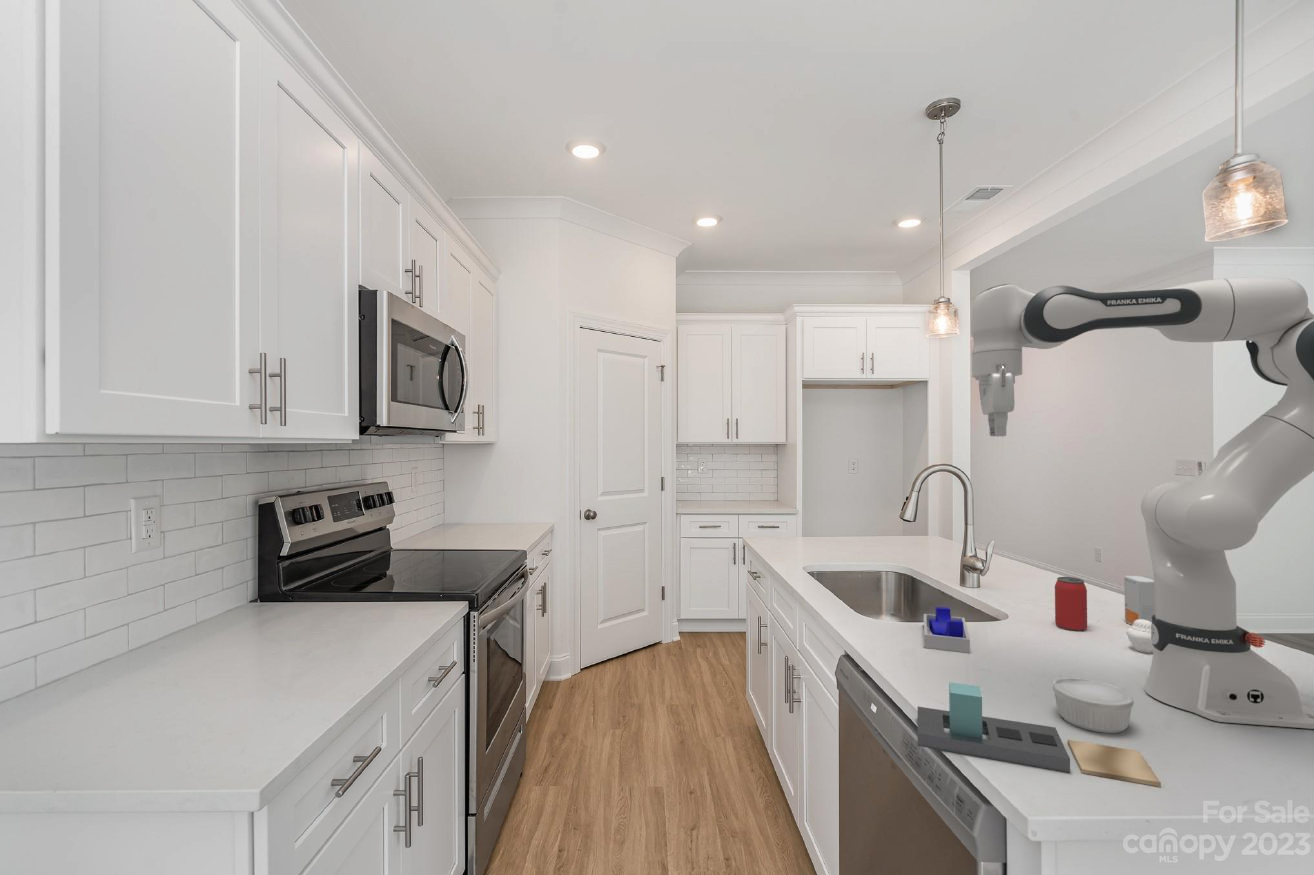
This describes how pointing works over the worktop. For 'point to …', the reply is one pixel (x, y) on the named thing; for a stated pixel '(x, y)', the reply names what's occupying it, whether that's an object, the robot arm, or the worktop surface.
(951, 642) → the clip tray
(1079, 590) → the beer can
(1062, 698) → the ramekin
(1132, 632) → the muffin
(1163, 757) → the worktop surface
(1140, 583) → the skincare box
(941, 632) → the cable clip
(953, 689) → the upright teal block
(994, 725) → the grey slotted board
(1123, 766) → the pad
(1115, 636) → the worktop surface
